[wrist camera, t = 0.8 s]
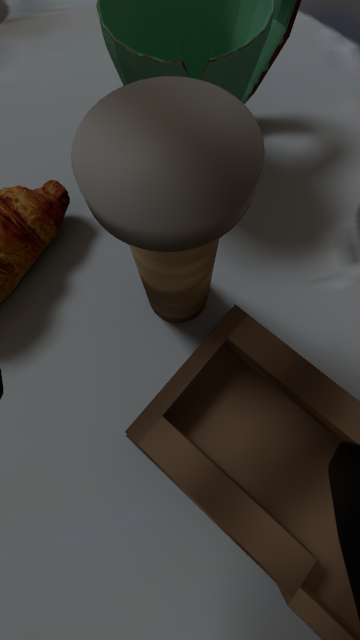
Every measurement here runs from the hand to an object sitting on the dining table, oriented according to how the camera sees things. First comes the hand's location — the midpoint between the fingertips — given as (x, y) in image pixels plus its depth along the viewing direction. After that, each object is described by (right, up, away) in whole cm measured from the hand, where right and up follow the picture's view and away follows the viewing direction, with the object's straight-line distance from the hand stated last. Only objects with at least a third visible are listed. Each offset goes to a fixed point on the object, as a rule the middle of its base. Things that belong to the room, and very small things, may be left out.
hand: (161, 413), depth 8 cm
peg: (0, +4, +14) cm, 15 cm away
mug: (+3, +19, +19) cm, 27 cm away
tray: (+8, -7, +11) cm, 16 cm away
